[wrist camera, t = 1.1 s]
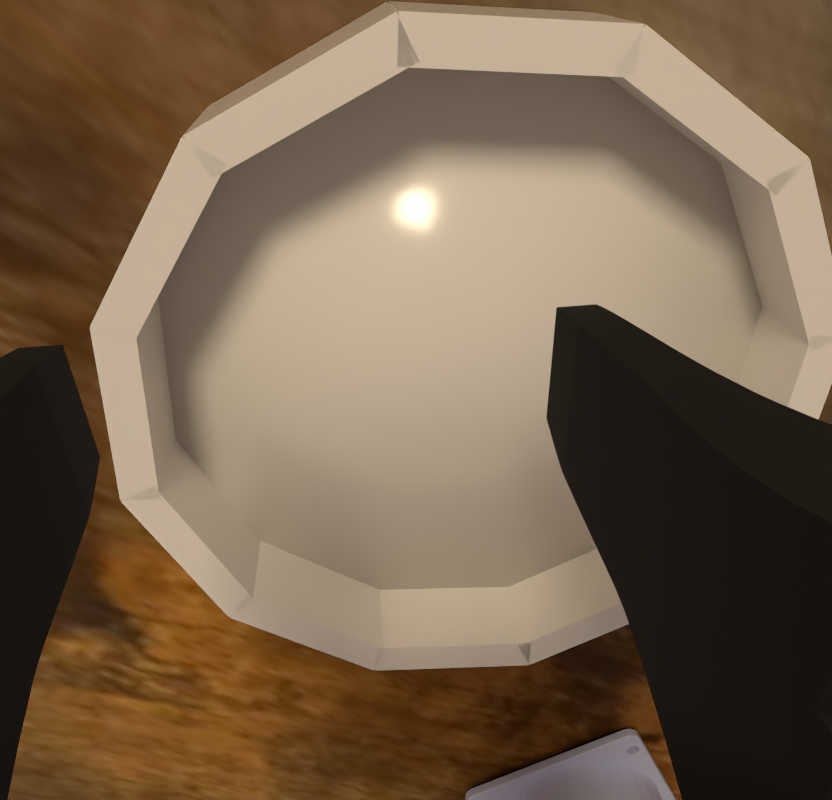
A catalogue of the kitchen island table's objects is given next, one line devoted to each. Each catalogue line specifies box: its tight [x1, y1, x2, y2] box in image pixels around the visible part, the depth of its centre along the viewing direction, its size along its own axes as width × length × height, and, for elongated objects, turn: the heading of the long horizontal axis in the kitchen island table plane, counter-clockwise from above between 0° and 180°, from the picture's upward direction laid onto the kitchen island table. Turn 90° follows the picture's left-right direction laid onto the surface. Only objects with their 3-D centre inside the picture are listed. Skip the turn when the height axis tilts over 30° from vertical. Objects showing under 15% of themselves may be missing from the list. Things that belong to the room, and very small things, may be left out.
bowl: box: [90, 1, 832, 671], centre depth 21 cm, size 18×18×4 cm
